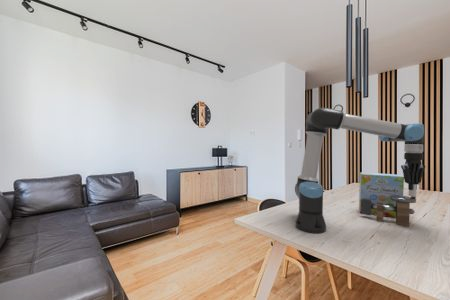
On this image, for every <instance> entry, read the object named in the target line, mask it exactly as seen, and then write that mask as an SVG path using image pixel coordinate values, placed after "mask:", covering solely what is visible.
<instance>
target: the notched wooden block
mask: <svg viewBox="0 0 450 300" xmlns="http://www.w3.org/2000/svg"><path fill="white" fill-rule="evenodd" d="M378 204H381V205H378ZM410 206H411V203H404V202H398V201H396V207H397V212H396V218H395V222H396V225H397V226H400V227H406V228H410V215H411V214H410V209H411V207H410ZM376 221H377V222H381V223H384V216H383V203H379V202H377V215H376Z"/></svg>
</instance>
